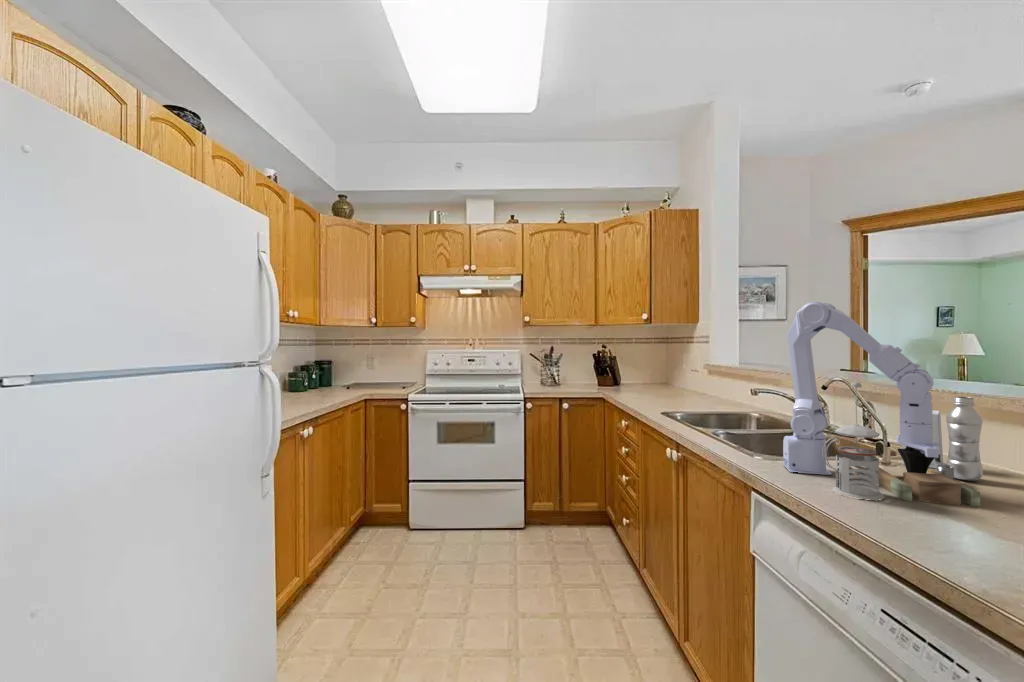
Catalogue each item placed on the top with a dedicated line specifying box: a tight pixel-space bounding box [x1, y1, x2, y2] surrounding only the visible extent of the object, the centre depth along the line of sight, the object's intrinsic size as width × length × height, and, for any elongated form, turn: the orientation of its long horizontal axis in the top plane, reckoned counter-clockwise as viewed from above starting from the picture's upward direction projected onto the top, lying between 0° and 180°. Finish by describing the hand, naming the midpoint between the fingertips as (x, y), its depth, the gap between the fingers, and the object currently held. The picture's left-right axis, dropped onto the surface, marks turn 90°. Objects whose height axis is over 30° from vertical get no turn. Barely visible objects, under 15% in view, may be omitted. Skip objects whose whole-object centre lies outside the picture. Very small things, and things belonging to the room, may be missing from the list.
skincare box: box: [900, 410, 944, 470], centre depth 128 cm, size 8×6×15 cm
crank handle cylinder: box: [935, 454, 955, 479], centre depth 112 cm, size 3×5×6 cm, turn 162°
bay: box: [879, 467, 981, 507], centre depth 107 cm, size 13×18×3 cm
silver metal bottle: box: [945, 396, 984, 482], centre depth 114 cm, size 6×7×20 cm
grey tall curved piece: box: [822, 381, 886, 500], centre depth 105 cm, size 10×12×25 cm
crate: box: [902, 471, 962, 505], centre depth 102 cm, size 7×7×4 cm
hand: (916, 481), depth 108 cm, fingers closed
